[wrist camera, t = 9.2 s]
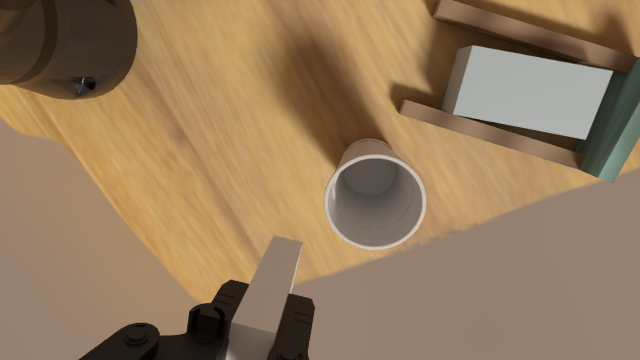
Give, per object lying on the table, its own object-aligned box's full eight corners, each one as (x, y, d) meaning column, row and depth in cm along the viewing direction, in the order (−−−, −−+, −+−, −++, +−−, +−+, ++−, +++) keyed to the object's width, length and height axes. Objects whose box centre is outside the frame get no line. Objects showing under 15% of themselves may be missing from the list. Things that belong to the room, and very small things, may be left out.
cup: (416, 184, 40) (441, 229, 29) (349, 211, 42) (347, 263, 30) (389, 118, 38) (403, 137, 27) (321, 148, 40) (307, 178, 28)
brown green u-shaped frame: (398, 112, 38) (404, 117, 33) (437, 1, 35) (450, -11, 30) (580, 168, 38) (613, 182, 33) (637, 62, 35) (682, 60, 30)
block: (440, 109, 38) (453, 114, 33) (457, 49, 36) (472, 45, 31) (556, 131, 37) (585, 139, 33) (578, 71, 36) (613, 71, 31)
